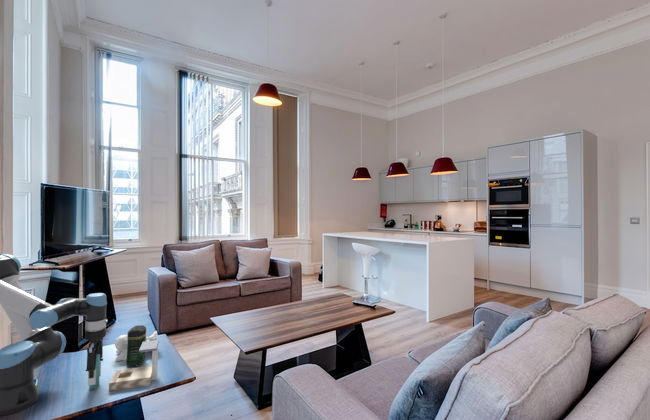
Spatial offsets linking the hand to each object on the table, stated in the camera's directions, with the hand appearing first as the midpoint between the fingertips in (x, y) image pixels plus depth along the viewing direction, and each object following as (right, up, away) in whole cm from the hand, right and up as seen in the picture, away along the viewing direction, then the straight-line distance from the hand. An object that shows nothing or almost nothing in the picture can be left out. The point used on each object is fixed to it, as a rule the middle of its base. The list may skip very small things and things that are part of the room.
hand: (94, 380), depth 143 cm
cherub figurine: (-1, -4, +33) cm, 33 cm away
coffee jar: (+5, -4, +23) cm, 24 cm away
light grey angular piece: (+21, -3, +8) cm, 22 cm away
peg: (0, -3, 0) cm, 3 cm away
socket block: (+14, -3, +5) cm, 15 cm away
